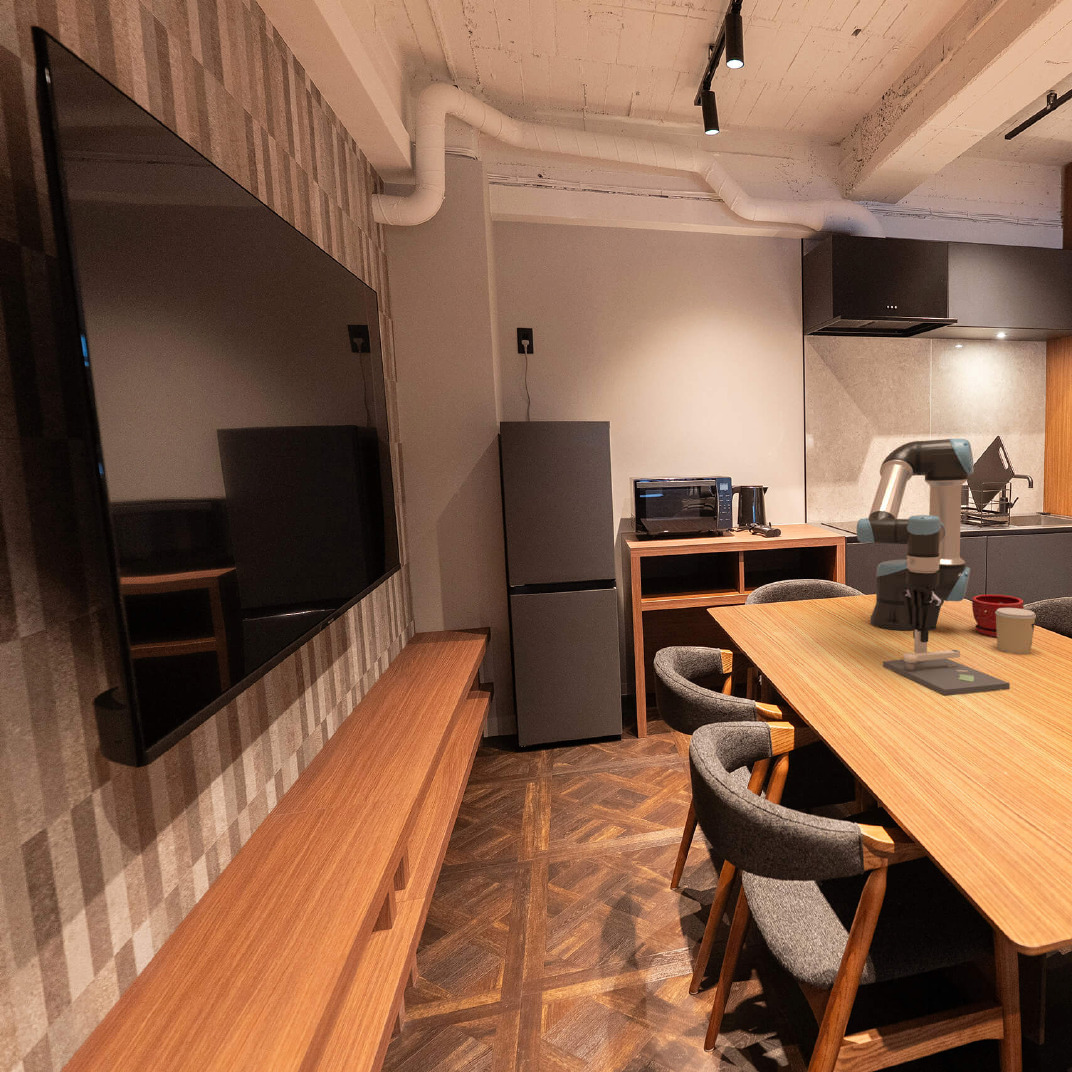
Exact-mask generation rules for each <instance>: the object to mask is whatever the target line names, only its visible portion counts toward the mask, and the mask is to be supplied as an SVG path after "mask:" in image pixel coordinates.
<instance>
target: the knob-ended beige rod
mask: <svg viewBox="0 0 1072 1072" xmlns="http://www.w3.org/2000/svg"><path fill="white" fill-rule="evenodd" d="M946 658H947V659H955V658H956V659H957V658H961V651H960V650H958V649H950V650H949V649H948V650H937V651H927V652H925V653H916V652H904V653H903V659H904V661H905V662H909V663H917V661H925V660H936V659H946Z"/></svg>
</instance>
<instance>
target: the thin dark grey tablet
mask: <svg viewBox="0 0 1072 1072" xmlns="http://www.w3.org/2000/svg"><path fill="white" fill-rule="evenodd" d="M882 667H884V668H885V669H888V670H889V671H892V672H894V673H896V674H898V675H900V676H902V677H904V678H907V679H909V680H911V681H913V682H915V683H918V684H920V685H922V686H924V687H925V688H928V689H930V690H933V691H935V692H937V693H938V694H940V695H943V696H951V695H960V694H961V695H963V694H971V693H981V692H982V691H983V692H989V691H990V692H991V691H1001V690H1000V689H1003V690H1009V689H1010V686H1011V685H1010V684H1011V683H1010V682H1008V681H1005V680H1003V679H1000V678H998V677H995V676H993V675H989V674H988V673H985V672H982V671H980V670H977V669H975V668H972V667H969V666H967V665H964V664H962V663H959V662H957V661H954V660H952V659H950V658H946V659H936V660H925V661H917V663H909V662H905V661H904V658H903V659H894V660H883V661H882Z"/></svg>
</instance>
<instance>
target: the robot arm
mask: <svg viewBox="0 0 1072 1072" xmlns="http://www.w3.org/2000/svg"><path fill="white" fill-rule="evenodd" d="M974 472H975V468H974V457H973V450H972V445H971V443H970V441H969V440H967V439H966V438H947V439H945V438H944V439H933V440H931V439H930V440H914V441H910V442H907V443H904V444H902V445H900V446H898V447H896V448H895V449H894V450H892V451H891V452H890V453H889V454H888V455H887V456H886V457H885V458H884V460H883V461H882V463H881V466H880V469H879V474H880V480H879V483H878V487H877V490H876V492H875V495H874V499H873V502H872V505H871V507H870V508H871V509H870V511H869V515H868V517H865V518H860V519H859V520H858V521H857V524H856V538H857V540H858V541H859V542H860V543H866V544H867V543H868V544H891V545H896V544H897V545H907V546H906V547H907V551H906V559H892V560H886V561H882V562H880V563H879V564H878V565H877V567H876V574H875V577H876V589H875V590H876V596H875V597H876V601H875V605H874V608H873V611H872V613H871V615H870V621H869V622H871V623H870V624H871V625H872V624H873V625H872V626H874V627H877V626H878V627H877V628H880V627H882V629H884V630H885V629H886V630H892V629H893V631H913V633H912V635H913V640H914V644H913V653H925V652H928V643H929V632H930V631H935V630H936V628H937V624H938V619H939V616H940V611H941V608H942V606H943V604H944V603H945V602H961V601H963V600H964V599H965V597H966V593H967V589H968V586H969V580H970V575H971V568H970V567H969V566H966V561H965V560H964V559H962V557H961V556H960V554H961V552H960V551H961V550H960V549H961V527H962V526H961V524H962V523H961V521H962V517H961V516H962V490H963V489H962V487H963V484H965V483H966V482H967V481H968V479H969V478H968V477H969V476H971V475H973V474H974ZM913 476H915V477H916V476H924V482H925V483H926V484H927V485H929V510H928V511H929V512H928V513H929V514H920V515H911V516H909V517H908V518H898V517H899V513H900V509H901V505H902V502H903V497H904V494H905V489H906V487H907V483H908V481H910V480H911V479H912V477H913Z"/></svg>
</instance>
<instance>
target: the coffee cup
mask: <svg viewBox="0 0 1072 1072" xmlns="http://www.w3.org/2000/svg"><path fill="white" fill-rule="evenodd" d="M995 614H996V629H997V637H996V644H997V645H996V646H997V649H998V650H999V649H1000V651H1002V652H1004V651H1005V652H1004V653H1009V652H1010V654H1018V655H1028V654H1030V653H1031V650H1032V645H1033V644H1032V643H1033V637H1034V630H1035V621H1036V617H1037V615H1036V613H1035V612H1034V611H1032V610H1030V609H1024V608H1023V609H1018V608H999V609H997V611H996V612H995Z"/></svg>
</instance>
